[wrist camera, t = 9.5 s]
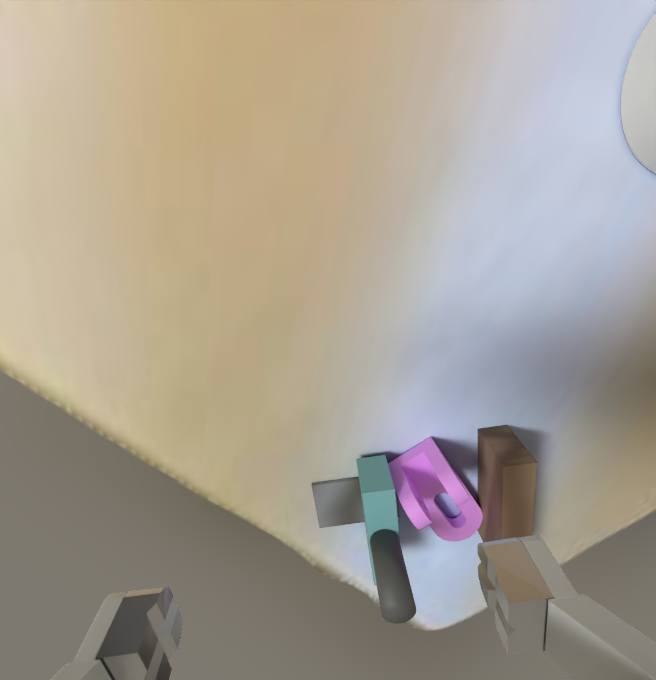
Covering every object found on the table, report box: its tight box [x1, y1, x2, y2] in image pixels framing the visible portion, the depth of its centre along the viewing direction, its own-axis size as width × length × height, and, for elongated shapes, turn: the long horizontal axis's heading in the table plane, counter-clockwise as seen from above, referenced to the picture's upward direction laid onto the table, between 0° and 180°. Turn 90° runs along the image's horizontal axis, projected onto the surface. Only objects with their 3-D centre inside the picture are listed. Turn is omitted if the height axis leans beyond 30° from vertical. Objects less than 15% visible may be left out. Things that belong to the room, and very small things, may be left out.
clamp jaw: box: [357, 455, 416, 623], centre depth 38 cm, size 3×12×12 cm, turn 8°
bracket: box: [388, 437, 483, 541], centre depth 41 cm, size 13×6×7 cm, turn 34°
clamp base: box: [312, 425, 537, 542], centre depth 42 cm, size 21×14×6 cm, turn 98°
